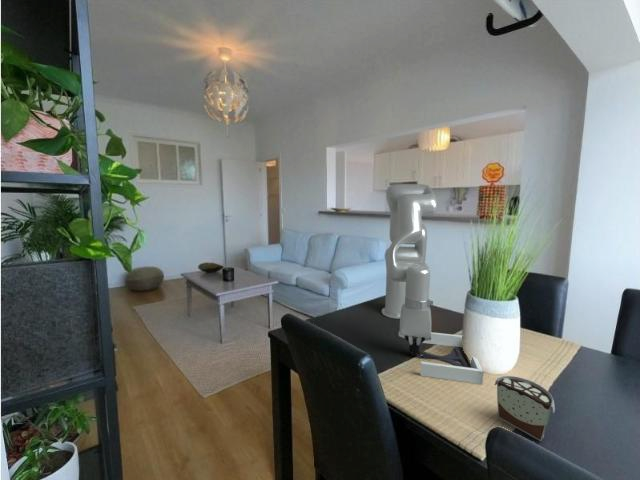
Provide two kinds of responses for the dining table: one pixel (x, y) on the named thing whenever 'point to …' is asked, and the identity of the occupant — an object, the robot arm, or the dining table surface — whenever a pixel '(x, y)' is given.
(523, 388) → the mint chocolate cake slice
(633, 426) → the dining table surface
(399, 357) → the dining table surface
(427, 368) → the box
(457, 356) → the bracket
